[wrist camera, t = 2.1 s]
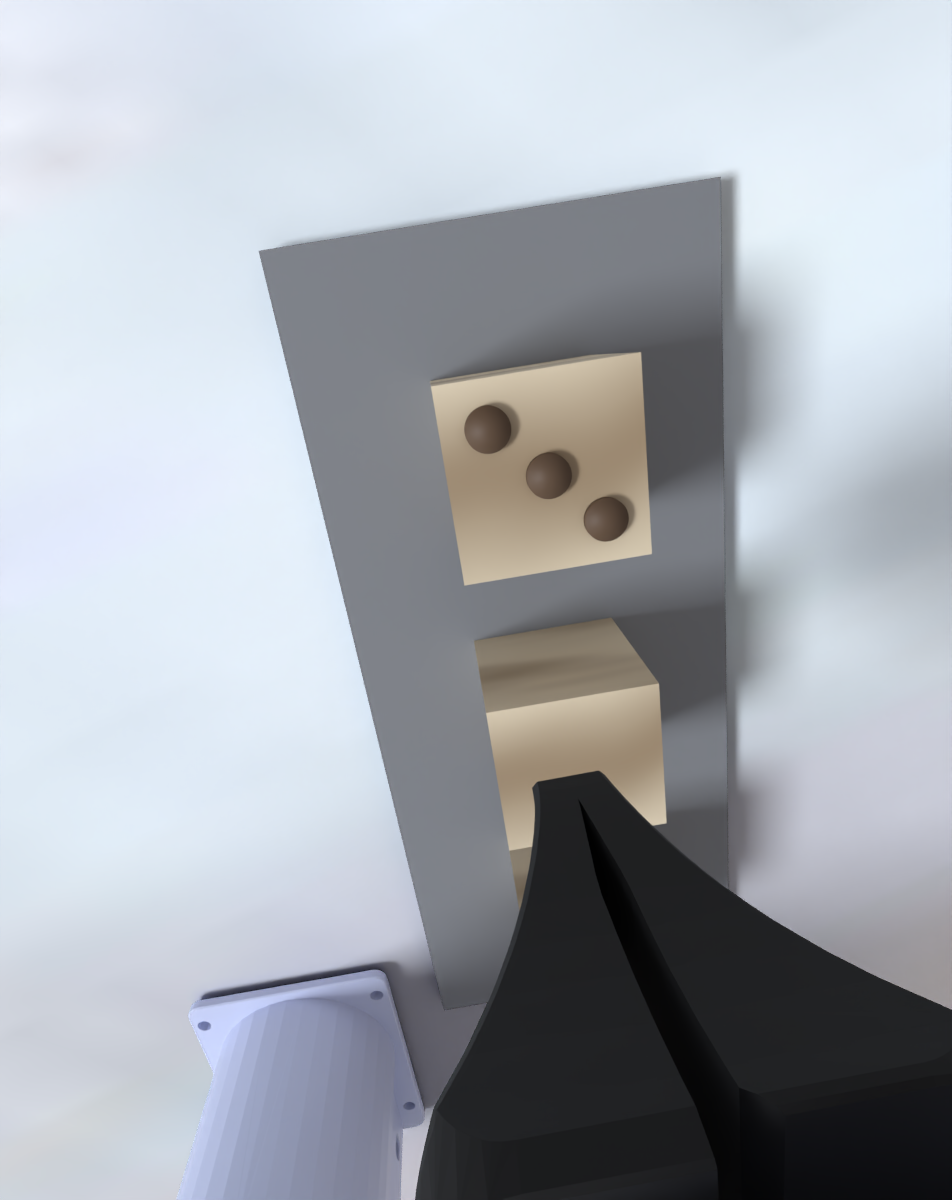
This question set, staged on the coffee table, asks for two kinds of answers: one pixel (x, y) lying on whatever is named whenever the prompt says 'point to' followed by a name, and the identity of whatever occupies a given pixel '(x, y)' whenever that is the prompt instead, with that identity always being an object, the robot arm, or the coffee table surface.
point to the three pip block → (546, 465)
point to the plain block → (571, 717)
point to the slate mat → (426, 527)
